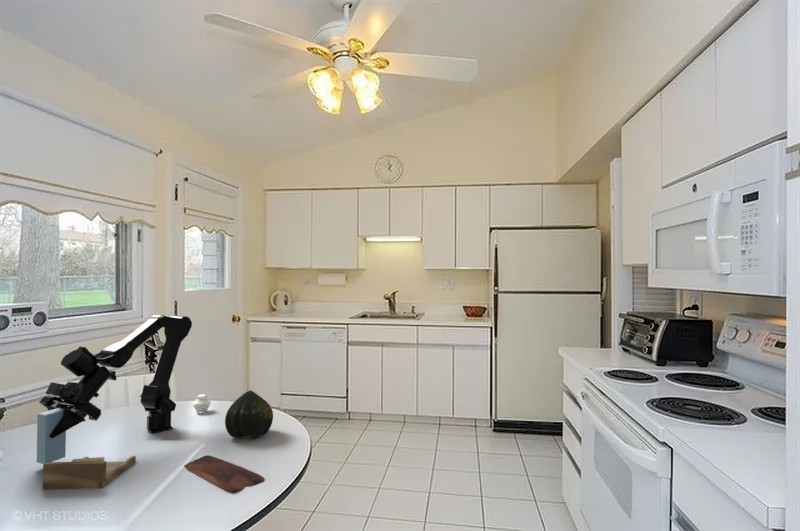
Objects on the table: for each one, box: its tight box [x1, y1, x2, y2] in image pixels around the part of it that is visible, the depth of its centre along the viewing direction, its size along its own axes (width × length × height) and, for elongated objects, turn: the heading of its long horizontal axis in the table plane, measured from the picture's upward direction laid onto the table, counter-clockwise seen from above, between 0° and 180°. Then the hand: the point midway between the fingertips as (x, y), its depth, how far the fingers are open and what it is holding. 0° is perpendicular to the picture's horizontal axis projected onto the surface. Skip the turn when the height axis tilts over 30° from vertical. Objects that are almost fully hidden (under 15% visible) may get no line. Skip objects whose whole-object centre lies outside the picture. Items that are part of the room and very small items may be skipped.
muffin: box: [192, 393, 211, 413], centre depth 165 cm, size 6×6×7 cm
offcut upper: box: [70, 456, 105, 462], centre depth 108 cm, size 4×7×2 cm, turn 102°
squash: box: [224, 389, 274, 440], centre depth 143 cm, size 14×15×15 cm
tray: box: [42, 455, 137, 491], centre depth 112 cm, size 15×14×7 cm
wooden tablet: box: [183, 455, 265, 494], centre depth 116 cm, size 26×2×10 cm
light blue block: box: [36, 408, 67, 465], centre depth 116 cm, size 5×4×13 cm
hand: (46, 436), depth 115 cm, fingers closed on light blue block, 3 cm apart
